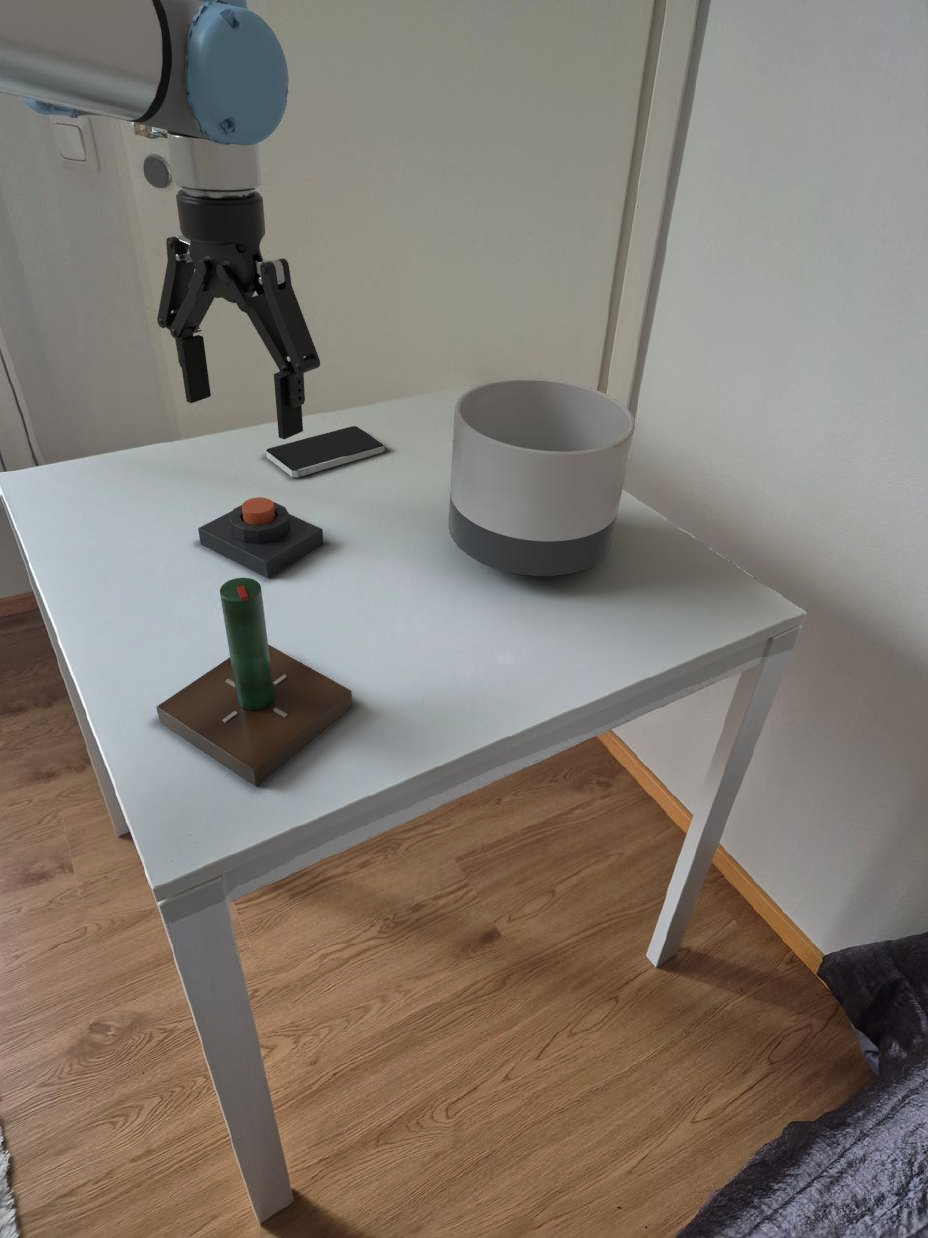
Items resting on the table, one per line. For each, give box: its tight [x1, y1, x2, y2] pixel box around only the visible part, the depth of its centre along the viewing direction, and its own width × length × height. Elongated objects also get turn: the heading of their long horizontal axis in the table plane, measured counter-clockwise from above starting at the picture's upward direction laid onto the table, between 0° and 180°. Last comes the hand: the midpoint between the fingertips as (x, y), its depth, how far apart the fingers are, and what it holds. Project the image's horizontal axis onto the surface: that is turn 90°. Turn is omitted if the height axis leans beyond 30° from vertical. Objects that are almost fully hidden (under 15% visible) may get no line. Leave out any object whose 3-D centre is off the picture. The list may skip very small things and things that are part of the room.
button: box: [241, 497, 275, 525], centre depth 91 cm, size 4×4×2 cm
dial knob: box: [219, 577, 274, 711], centre depth 67 cm, size 3×3×12 cm
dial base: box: [156, 643, 353, 787], centre depth 72 cm, size 12×12×2 cm
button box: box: [197, 501, 324, 579], centre depth 93 cm, size 11×9×4 cm
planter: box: [447, 377, 636, 577], centre depth 91 cm, size 19×19×18 cm
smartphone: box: [265, 425, 386, 478], centre depth 112 cm, size 8×1×15 cm
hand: (243, 416), depth 84 cm, fingers open, 13 cm apart
